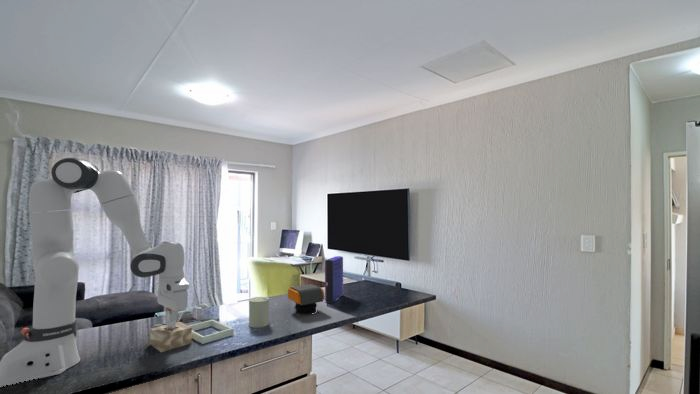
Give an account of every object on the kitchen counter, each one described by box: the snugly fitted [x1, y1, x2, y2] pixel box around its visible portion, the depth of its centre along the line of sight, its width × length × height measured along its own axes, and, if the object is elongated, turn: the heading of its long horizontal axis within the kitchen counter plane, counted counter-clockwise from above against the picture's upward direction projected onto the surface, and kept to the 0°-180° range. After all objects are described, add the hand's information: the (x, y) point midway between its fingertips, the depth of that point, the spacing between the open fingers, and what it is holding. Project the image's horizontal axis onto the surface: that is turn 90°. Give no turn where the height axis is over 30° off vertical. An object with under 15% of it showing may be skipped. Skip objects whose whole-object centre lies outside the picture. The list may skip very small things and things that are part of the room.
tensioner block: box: [149, 321, 193, 353], centre depth 132 cm, size 11×11×7 cm
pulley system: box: [153, 311, 220, 328], centre depth 161 cm, size 27×5×15 cm
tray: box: [188, 320, 234, 345], centre depth 142 cm, size 13×18×4 cm
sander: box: [287, 283, 325, 316], centre depth 180 cm, size 15×25×13 cm, turn 34°
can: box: [248, 296, 270, 329], centre depth 157 cm, size 9×9×12 cm
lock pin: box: [166, 308, 176, 331], centre depth 132 cm, size 3×3×14 cm
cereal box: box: [324, 255, 344, 303], centre depth 202 cm, size 17×5×24 cm, turn 161°
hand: (171, 318), depth 132 cm, fingers closed on lock pin, 3 cm apart
